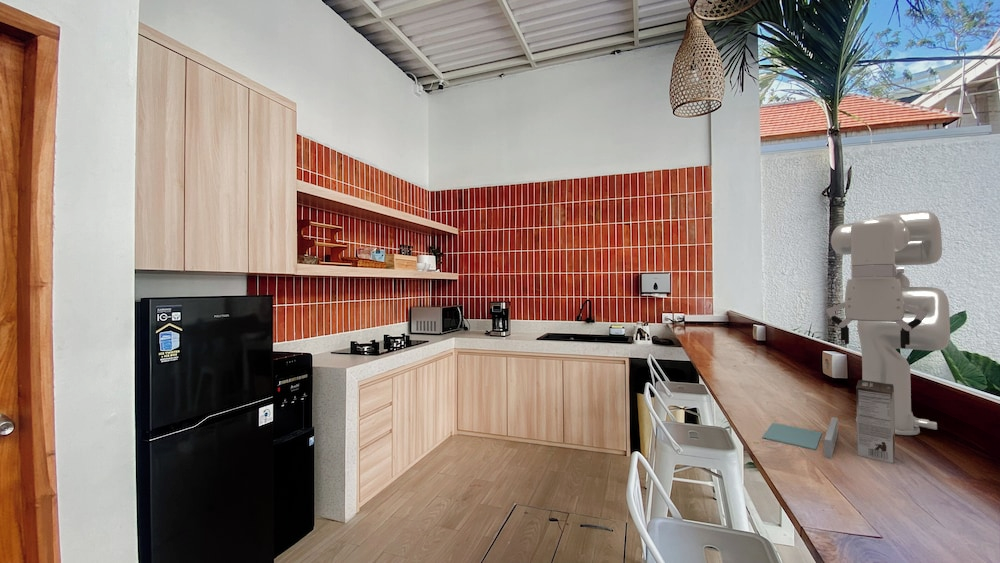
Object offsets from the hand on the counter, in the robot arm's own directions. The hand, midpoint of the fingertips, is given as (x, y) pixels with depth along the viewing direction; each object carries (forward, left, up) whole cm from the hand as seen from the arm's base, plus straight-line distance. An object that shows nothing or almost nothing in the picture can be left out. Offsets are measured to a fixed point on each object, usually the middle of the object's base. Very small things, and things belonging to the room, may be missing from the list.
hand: (873, 345), depth 93 cm
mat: (+16, 0, -25) cm, 30 cm away
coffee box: (0, 0, -26) cm, 26 cm away
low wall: (+8, 0, -25) cm, 27 cm away
